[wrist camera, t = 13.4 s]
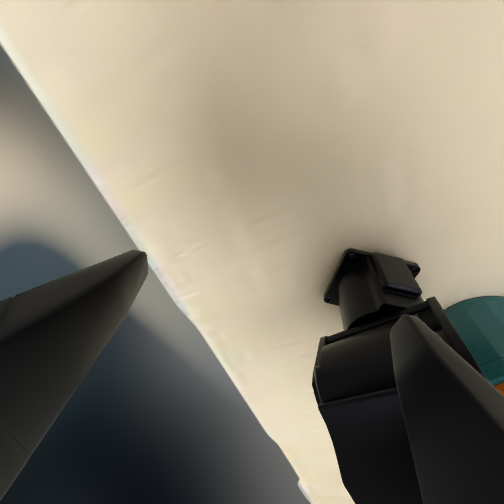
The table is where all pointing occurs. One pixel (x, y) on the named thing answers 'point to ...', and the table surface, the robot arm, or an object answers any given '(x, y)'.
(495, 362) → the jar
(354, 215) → the table surface
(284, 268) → the table surface
